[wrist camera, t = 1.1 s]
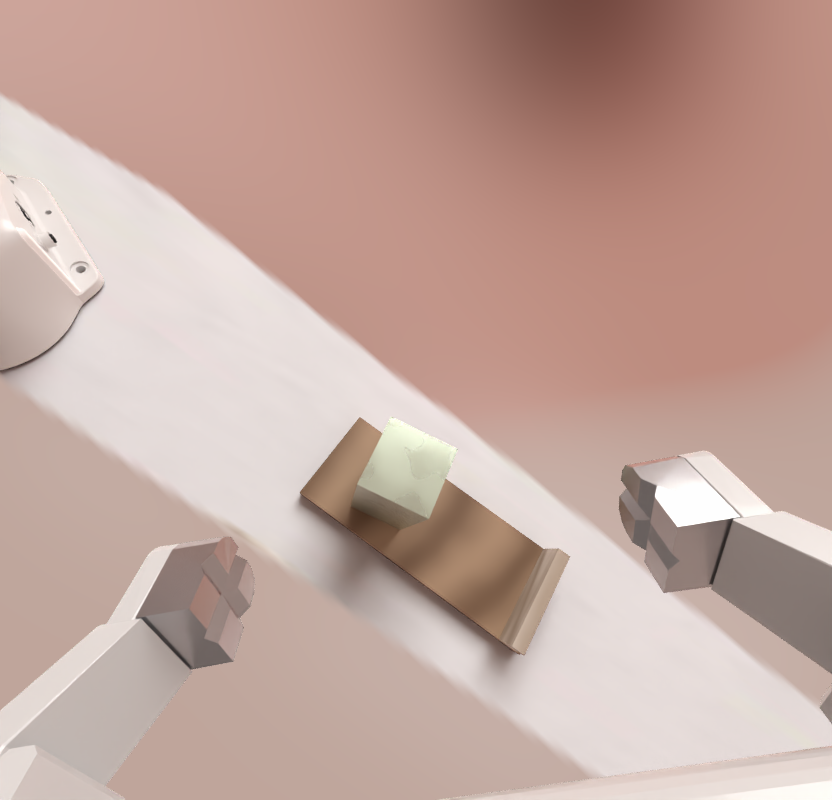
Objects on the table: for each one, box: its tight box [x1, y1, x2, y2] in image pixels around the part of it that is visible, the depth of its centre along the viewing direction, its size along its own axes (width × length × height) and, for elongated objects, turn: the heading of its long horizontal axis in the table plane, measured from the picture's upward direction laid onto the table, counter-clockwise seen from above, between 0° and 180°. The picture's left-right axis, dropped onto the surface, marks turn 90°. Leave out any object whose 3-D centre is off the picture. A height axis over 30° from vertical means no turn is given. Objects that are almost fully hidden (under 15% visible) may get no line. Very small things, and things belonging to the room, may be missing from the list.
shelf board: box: [300, 418, 570, 655], centre depth 38 cm, size 24×9×4 cm, turn 56°
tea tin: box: [351, 417, 458, 530], centre depth 33 cm, size 5×5×13 cm
